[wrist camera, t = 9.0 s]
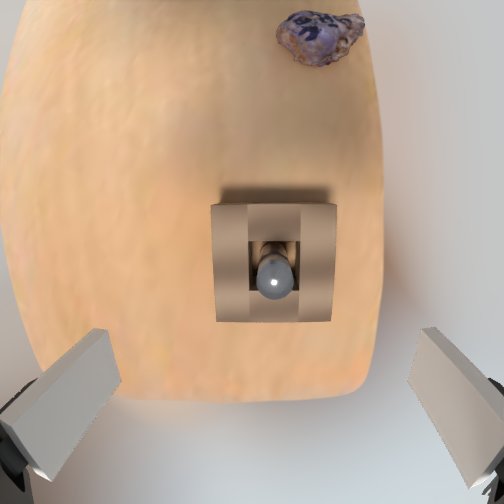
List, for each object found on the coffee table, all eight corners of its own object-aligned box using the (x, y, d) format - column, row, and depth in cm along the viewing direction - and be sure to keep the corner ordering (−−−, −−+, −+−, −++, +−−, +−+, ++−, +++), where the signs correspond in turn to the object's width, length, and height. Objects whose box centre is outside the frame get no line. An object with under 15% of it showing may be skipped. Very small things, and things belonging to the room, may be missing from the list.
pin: (260, 242, 33) (256, 264, 23) (286, 242, 33) (294, 264, 23) (260, 268, 33) (256, 299, 24) (286, 268, 33) (293, 299, 23)
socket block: (219, 203, 32) (210, 205, 27) (326, 202, 31) (336, 204, 26) (223, 303, 35) (216, 321, 30) (322, 303, 34) (330, 321, 29)
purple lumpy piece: (347, 12, 26) (358, -13, 20) (377, 56, 27) (395, 35, 21) (265, 34, 28) (264, 8, 22) (294, 81, 29) (299, 59, 23)
